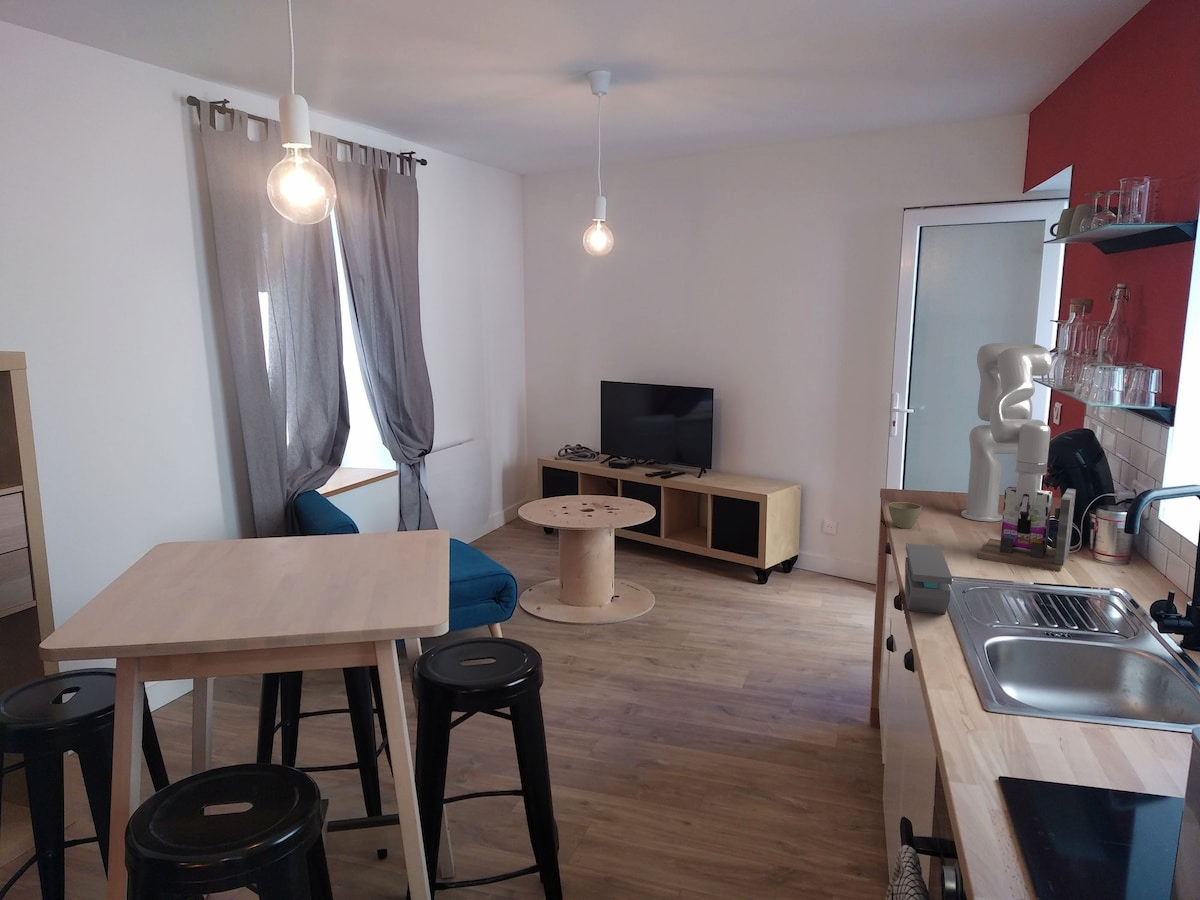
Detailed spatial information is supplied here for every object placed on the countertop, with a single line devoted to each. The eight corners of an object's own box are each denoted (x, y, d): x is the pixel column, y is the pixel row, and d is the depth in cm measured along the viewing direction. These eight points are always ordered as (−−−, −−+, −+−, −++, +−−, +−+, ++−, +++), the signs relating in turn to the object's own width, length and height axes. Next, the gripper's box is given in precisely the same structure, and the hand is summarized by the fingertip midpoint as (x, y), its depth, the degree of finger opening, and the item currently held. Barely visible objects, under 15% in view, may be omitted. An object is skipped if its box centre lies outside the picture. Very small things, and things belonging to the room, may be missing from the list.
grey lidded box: (948, 625, 167) (952, 578, 165) (910, 621, 170) (913, 574, 168) (937, 588, 191) (940, 546, 189) (903, 584, 193) (906, 543, 191)
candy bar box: (1047, 548, 214) (1053, 491, 211) (1044, 552, 210) (1050, 494, 207) (1003, 540, 221) (1008, 485, 218) (999, 544, 217) (1004, 488, 214)
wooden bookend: (989, 543, 229) (995, 479, 226) (1069, 555, 217) (1076, 488, 213) (977, 558, 214) (983, 490, 211) (1062, 572, 202) (1069, 500, 199)
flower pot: (914, 523, 252) (916, 502, 250) (924, 531, 242) (926, 509, 241) (883, 522, 253) (885, 501, 251) (892, 530, 243) (893, 508, 242)
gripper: (1020, 461, 221) (1014, 522, 224) (1010, 471, 207) (1004, 535, 210) (1050, 464, 216) (1044, 526, 219) (1042, 474, 203) (1035, 540, 206)
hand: (1025, 530), depth 215 cm, fingers closed on candy bar box, 5 cm apart
